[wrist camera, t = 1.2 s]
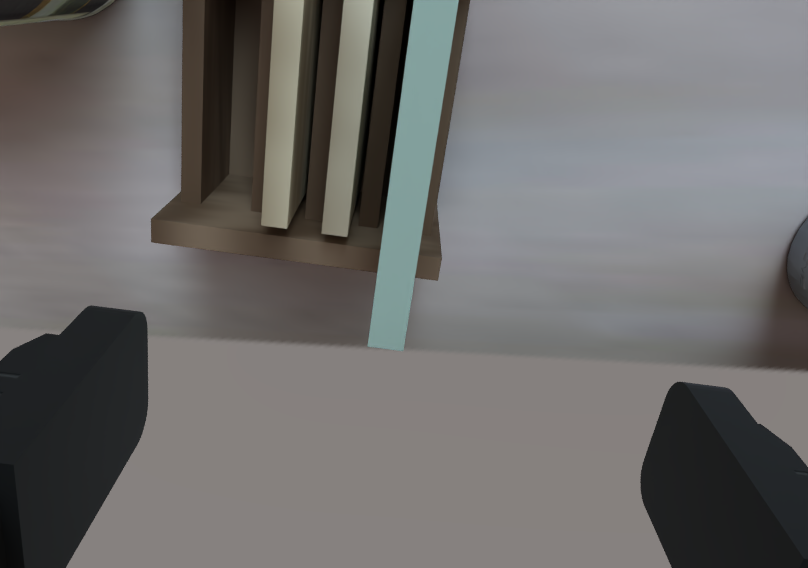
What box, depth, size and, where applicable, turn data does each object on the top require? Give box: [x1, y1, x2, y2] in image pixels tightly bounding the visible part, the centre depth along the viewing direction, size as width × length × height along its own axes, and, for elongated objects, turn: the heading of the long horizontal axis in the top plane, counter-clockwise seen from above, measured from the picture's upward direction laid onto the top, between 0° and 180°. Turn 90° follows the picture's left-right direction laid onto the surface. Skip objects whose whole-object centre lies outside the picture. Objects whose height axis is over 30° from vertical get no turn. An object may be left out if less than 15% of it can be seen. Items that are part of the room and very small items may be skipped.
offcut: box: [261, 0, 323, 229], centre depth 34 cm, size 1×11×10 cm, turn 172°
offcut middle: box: [321, 0, 384, 237], centre depth 35 cm, size 1×11×10 cm, turn 172°
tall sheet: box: [368, 0, 459, 351], centre depth 30 cm, size 1×11×20 cm, turn 172°
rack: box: [151, 0, 470, 281], centre depth 35 cm, size 14×15×10 cm
